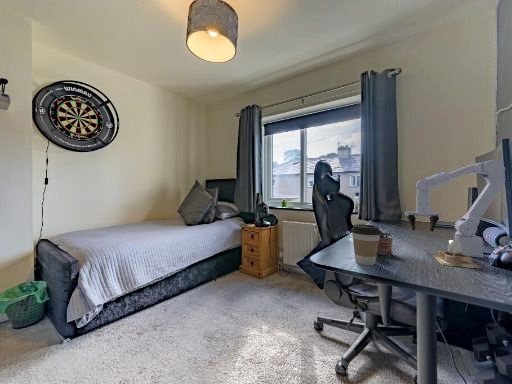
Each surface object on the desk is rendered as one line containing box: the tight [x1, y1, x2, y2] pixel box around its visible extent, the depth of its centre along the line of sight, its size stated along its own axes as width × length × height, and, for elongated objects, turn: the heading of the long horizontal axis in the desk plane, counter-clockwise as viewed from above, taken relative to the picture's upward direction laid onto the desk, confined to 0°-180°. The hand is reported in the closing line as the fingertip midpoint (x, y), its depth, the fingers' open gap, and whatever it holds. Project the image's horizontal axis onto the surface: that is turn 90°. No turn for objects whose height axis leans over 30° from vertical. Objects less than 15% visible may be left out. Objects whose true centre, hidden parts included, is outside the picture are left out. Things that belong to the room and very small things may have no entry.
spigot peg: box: [447, 239, 461, 257], centre depth 99 cm, size 4×4×8 cm
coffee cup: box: [350, 223, 382, 267], centre depth 97 cm, size 11×11×15 cm
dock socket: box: [431, 250, 481, 269], centre depth 99 cm, size 12×12×3 cm
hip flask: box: [377, 231, 393, 256], centre depth 111 cm, size 8×3×10 cm, turn 69°
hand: (422, 230), depth 118 cm, fingers open, 7 cm apart
